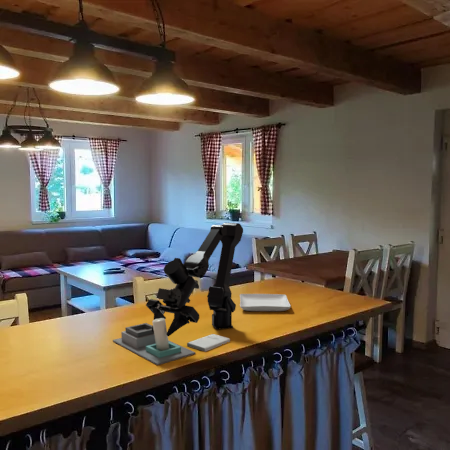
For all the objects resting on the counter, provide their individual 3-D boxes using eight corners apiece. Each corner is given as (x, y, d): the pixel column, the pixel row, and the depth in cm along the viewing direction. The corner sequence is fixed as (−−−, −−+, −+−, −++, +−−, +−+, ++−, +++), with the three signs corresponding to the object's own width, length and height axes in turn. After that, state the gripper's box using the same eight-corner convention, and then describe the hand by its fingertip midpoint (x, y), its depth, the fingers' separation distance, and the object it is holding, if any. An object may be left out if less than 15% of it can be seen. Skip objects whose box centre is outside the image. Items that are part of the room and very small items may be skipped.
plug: (162, 346, 151) (158, 317, 149) (172, 348, 148) (167, 318, 147) (154, 352, 148) (149, 322, 146) (163, 354, 145) (159, 323, 144)
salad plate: (291, 313, 193) (291, 305, 193) (239, 313, 194) (239, 305, 193) (285, 301, 214) (285, 293, 214) (239, 300, 215) (239, 293, 214)
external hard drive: (186, 347, 154) (212, 337, 164) (205, 353, 149) (230, 342, 158) (186, 342, 154) (212, 333, 164) (205, 348, 149) (230, 338, 158)
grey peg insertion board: (112, 341, 159) (112, 326, 159) (148, 332, 168) (148, 319, 168) (157, 365, 138) (157, 348, 137) (195, 353, 147) (195, 338, 147)
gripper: (149, 275, 155) (125, 315, 146) (193, 281, 144) (170, 325, 136) (165, 293, 162) (143, 333, 154) (208, 301, 151) (187, 344, 143)
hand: (160, 333), depth 146 cm, fingers open, 6 cm apart
